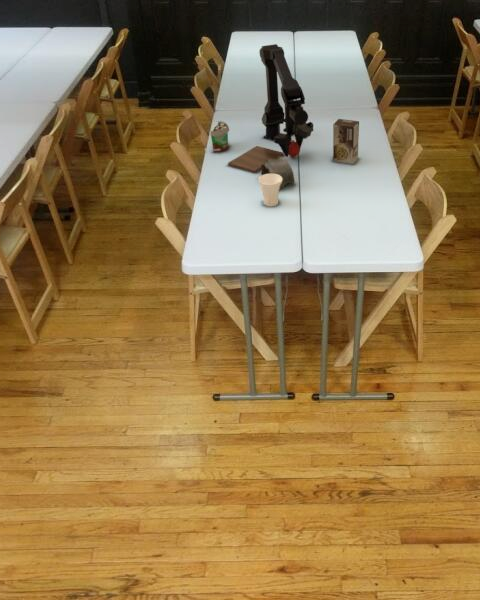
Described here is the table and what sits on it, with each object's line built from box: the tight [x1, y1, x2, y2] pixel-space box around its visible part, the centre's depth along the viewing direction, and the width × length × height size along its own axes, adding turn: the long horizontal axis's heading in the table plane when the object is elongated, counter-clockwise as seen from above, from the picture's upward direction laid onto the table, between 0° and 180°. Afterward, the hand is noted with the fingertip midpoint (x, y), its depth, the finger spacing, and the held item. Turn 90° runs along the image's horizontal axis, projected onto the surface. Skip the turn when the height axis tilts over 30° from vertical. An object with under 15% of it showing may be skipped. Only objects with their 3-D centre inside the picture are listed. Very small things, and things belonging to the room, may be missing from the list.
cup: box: [257, 174, 282, 207], centre depth 229 cm, size 9×9×10 cm
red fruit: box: [288, 139, 301, 159], centre depth 261 cm, size 6×6×8 cm
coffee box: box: [332, 118, 360, 165], centre depth 255 cm, size 9×6×16 cm
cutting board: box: [227, 145, 284, 174], centre depth 262 cm, size 20×14×1 cm
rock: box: [260, 155, 295, 190], centre depth 244 cm, size 18×11×8 cm, turn 16°
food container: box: [210, 120, 230, 154], centre depth 270 cm, size 12×6×10 cm, turn 168°
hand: (293, 152), depth 262 cm, fingers open, 9 cm apart
